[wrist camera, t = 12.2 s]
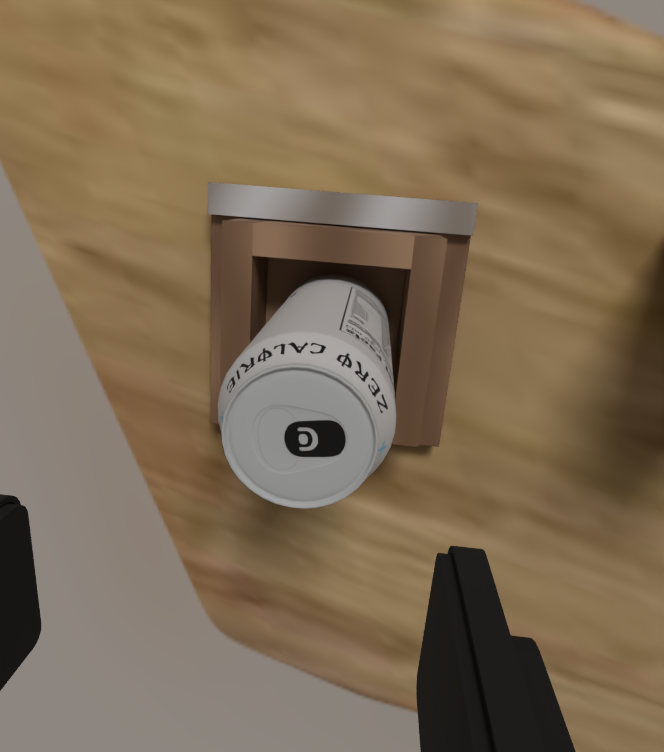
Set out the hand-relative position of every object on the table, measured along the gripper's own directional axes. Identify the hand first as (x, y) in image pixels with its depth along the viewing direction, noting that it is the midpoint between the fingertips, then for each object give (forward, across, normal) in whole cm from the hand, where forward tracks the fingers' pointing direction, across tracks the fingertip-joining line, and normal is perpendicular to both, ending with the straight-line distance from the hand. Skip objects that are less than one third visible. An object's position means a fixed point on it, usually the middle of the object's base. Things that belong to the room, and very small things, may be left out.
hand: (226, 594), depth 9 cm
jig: (+24, 0, 0) cm, 24 cm away
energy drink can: (+22, 0, 0) cm, 22 cm away
